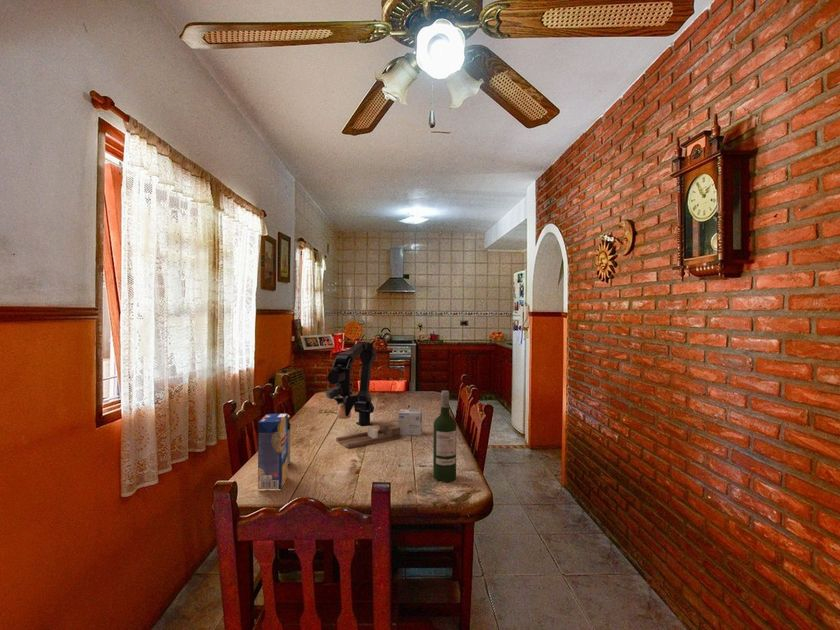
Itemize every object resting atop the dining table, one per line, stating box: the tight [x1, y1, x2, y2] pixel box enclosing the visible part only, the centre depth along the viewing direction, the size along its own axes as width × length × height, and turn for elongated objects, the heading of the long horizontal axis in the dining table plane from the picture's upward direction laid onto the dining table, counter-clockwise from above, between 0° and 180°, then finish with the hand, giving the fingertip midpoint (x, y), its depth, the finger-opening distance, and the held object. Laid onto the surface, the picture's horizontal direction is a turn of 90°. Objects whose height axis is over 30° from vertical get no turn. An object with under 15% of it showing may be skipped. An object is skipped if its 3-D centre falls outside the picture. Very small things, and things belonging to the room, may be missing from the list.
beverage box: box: [257, 413, 289, 490], centre depth 139 cm, size 7×11×22 cm, turn 6°
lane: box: [335, 422, 401, 449], centre depth 188 cm, size 11×26×5 cm, turn 125°
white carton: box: [397, 408, 423, 437], centre depth 199 cm, size 11×7×11 cm, turn 84°
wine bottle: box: [432, 390, 457, 483], centre depth 145 cm, size 8×8×30 cm
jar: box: [336, 403, 352, 420], centre depth 195 cm, size 6×6×6 cm
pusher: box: [367, 426, 379, 438], centre depth 189 cm, size 7×1×4 cm, turn 35°
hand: (344, 414), depth 195 cm, fingers closed on jar, 6 cm apart
